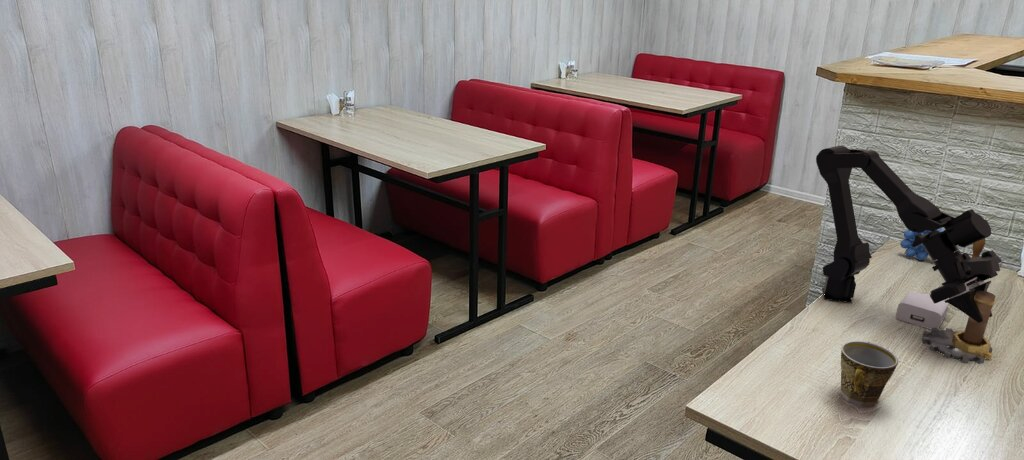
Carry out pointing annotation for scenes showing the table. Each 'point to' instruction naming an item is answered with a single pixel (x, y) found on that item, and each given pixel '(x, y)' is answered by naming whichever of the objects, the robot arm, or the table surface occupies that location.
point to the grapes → (918, 250)
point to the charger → (921, 310)
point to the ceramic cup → (865, 372)
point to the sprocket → (956, 345)
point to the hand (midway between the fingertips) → (985, 319)
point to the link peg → (984, 304)
